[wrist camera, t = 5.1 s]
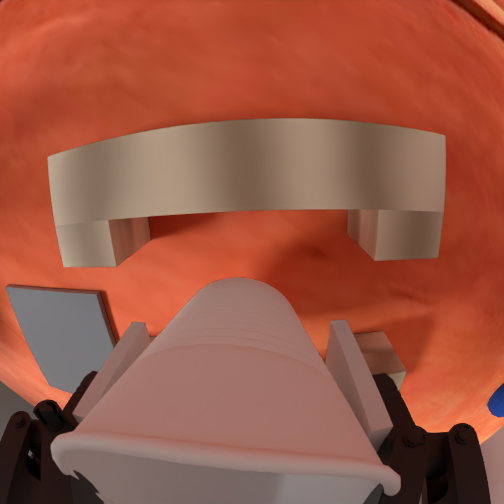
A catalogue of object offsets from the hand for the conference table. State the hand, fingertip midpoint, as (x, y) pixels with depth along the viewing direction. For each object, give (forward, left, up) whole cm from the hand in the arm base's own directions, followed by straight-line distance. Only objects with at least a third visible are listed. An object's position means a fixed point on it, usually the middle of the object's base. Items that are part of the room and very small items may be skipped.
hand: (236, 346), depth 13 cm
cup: (0, 0, -2) cm, 2 cm away
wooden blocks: (0, 0, -6) cm, 6 cm away
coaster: (-19, -7, -6) cm, 21 cm away
